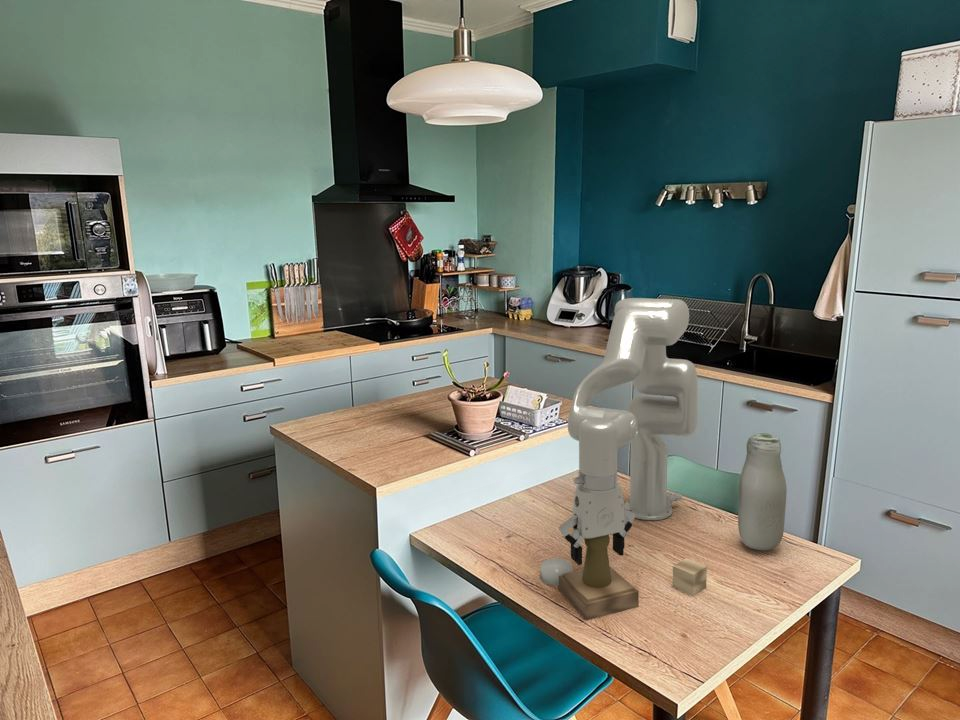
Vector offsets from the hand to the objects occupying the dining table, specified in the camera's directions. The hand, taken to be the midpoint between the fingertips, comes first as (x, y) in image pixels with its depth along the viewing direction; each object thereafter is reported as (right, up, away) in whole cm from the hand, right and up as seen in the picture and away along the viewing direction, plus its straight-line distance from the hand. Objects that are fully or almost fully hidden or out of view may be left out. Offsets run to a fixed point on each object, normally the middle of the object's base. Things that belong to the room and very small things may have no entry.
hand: (597, 557), depth 142 cm
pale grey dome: (-7, -8, +11) cm, 15 cm away
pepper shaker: (0, -5, +1) cm, 6 cm away
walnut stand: (0, -9, +2) cm, 9 cm away
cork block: (+20, -8, +5) cm, 22 cm away
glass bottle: (+42, -4, +21) cm, 47 cm away
